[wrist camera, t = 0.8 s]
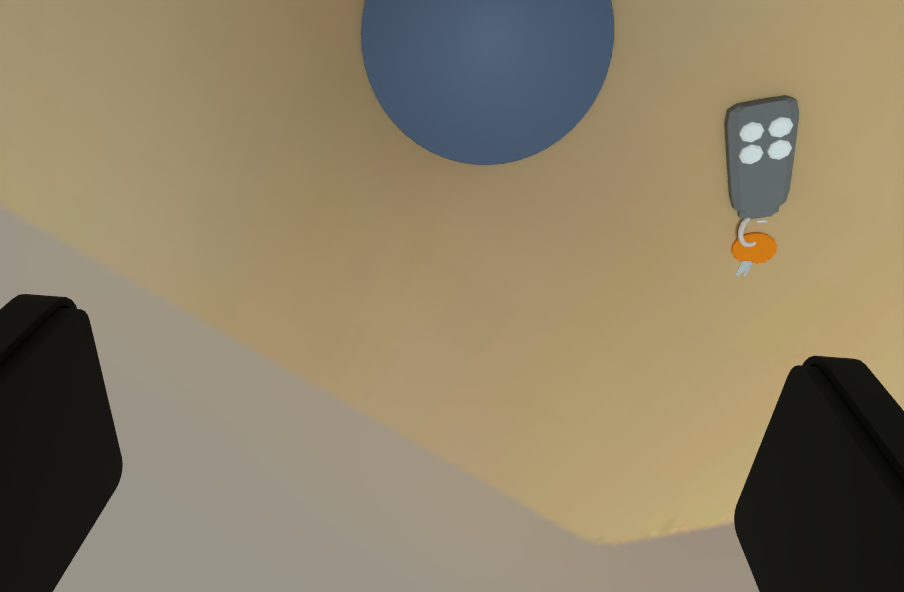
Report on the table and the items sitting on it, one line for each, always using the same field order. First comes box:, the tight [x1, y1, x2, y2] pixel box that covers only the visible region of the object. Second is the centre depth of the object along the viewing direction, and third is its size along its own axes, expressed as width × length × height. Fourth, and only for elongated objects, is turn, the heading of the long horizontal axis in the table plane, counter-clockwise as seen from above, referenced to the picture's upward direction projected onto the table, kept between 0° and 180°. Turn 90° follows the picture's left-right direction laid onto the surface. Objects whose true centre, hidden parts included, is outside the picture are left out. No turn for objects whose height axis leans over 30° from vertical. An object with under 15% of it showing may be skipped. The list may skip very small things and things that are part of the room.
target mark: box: [361, 0, 614, 165], centre depth 33 cm, size 12×12×1 cm
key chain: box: [725, 96, 799, 277], centre depth 37 cm, size 13×4×2 cm, turn 11°
